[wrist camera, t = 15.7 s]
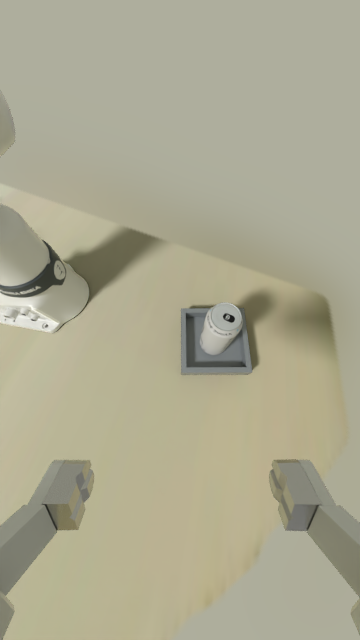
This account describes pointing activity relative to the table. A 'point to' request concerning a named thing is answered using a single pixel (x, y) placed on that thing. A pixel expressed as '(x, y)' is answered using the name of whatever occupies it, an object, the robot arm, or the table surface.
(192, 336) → the gray tray
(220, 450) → the table surface
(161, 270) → the table surface
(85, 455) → the table surface
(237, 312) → the energy drink can
